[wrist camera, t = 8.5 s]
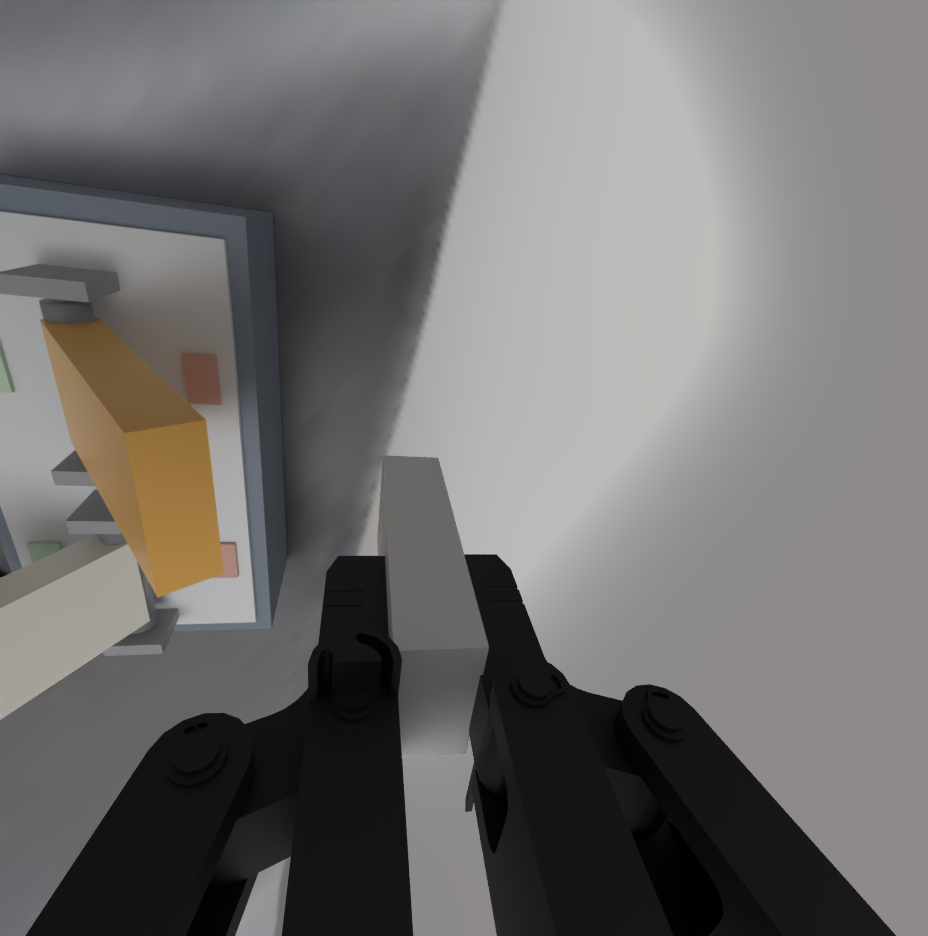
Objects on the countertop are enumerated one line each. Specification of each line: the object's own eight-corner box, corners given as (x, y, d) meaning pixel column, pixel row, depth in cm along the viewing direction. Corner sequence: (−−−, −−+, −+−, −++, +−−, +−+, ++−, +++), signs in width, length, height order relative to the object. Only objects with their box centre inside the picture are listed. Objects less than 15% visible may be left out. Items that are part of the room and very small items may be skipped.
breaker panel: (-11, 172, 20) (-229, 159, 13) (273, 212, 23) (227, 220, 15) (93, 558, 29) (1, 680, 22) (287, 558, 32) (262, 668, 24)
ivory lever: (121, 510, 21) (-299, 696, 12) (146, 522, 21) (-273, 725, 12) (142, 607, 24) (-193, 817, 15) (165, 620, 23) (-168, 846, 15)
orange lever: (31, 297, 16) (119, 408, 10) (90, 297, 17) (203, 397, 11) (71, 448, 19) (161, 613, 12) (119, 440, 20) (225, 589, 14)
